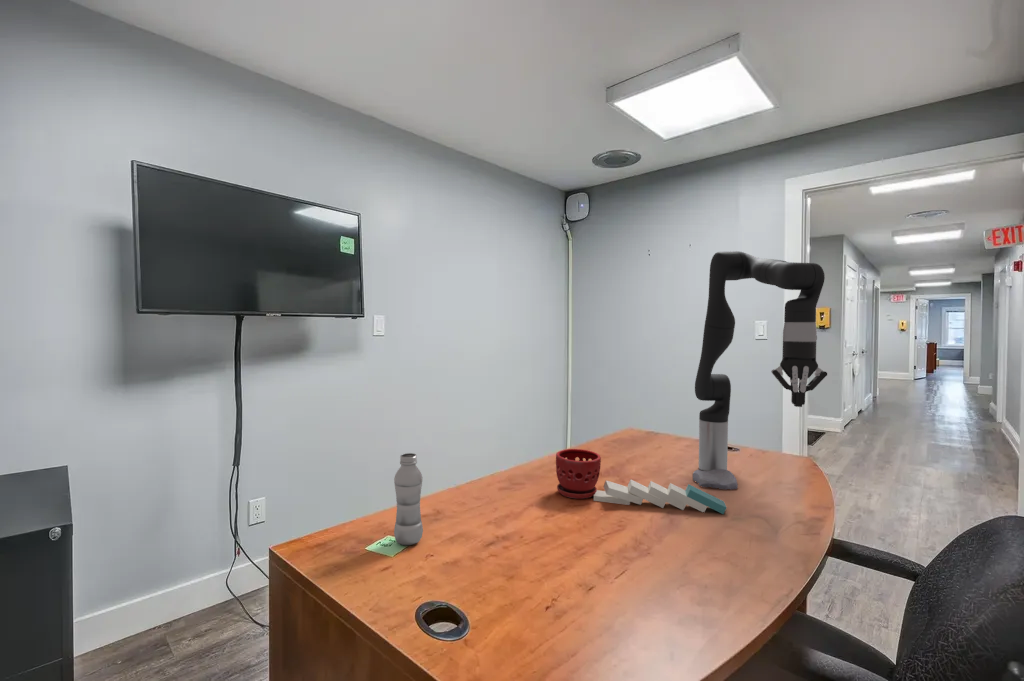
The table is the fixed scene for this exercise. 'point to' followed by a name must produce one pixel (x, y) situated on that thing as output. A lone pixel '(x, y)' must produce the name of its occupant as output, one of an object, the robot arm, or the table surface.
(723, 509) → the domino
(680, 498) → the domino
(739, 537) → the table surface
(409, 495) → the plastic bottle
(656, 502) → the domino
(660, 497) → the domino
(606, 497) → the domino
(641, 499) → the domino
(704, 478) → the stone block
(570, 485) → the plant pot
